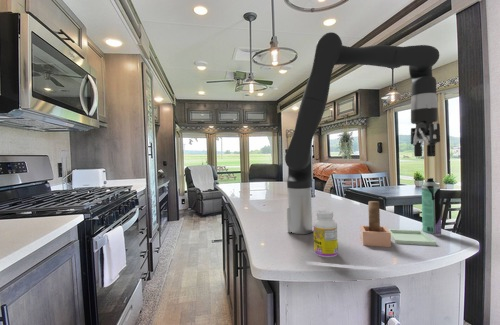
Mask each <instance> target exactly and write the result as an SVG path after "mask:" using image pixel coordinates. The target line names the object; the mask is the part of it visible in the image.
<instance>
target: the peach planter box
mask: <svg viewBox="0 0 500 325" xmlns="http://www.w3.org/2000/svg"><path fill="white" fill-rule="evenodd" d="M388 229H389V228H387V226H382V225H380V232H373V231H369V225H361V224H360V225H359V232H360V240H361V243H362V245H363V246H369V247H386V248H392V238H391V233H390V232H389V230H388Z"/></svg>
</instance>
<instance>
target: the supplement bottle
mask: <svg viewBox="0 0 500 325" xmlns="http://www.w3.org/2000/svg"><path fill="white" fill-rule="evenodd" d="M315 214H316V218H317V219H315V220H314V221H313V222H312V227H313V253H314V254H315V255H316V256H319V257H323V258H334V257H336V256H339V254H338V253H339V249H338V224H337V221H335V219H333V218H334V212H333V211H331V210H329V209H328V210H327V209H325V210H323V209H322V210H317V211H316V213H315Z"/></svg>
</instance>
